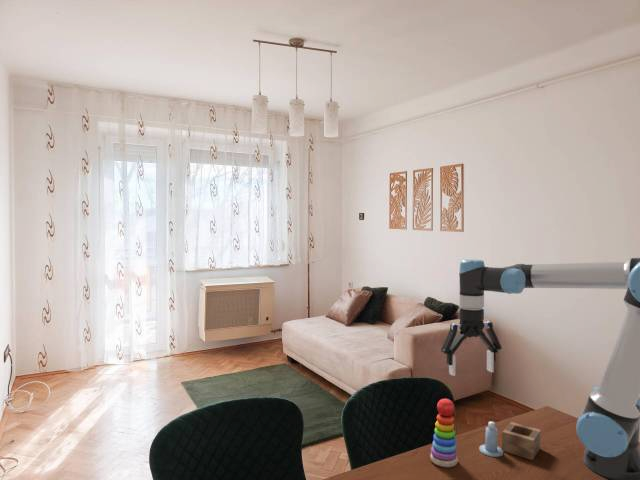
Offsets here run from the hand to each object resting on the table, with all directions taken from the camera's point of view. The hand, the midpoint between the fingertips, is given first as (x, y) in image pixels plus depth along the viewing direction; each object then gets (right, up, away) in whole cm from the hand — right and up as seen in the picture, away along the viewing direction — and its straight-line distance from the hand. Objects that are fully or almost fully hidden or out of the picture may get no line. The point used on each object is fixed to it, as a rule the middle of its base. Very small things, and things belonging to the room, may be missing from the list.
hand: (471, 373), depth 149 cm
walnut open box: (+14, -23, -4) cm, 27 cm away
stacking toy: (-12, -23, -12) cm, 29 cm away
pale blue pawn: (+4, -23, -6) cm, 24 cm away
